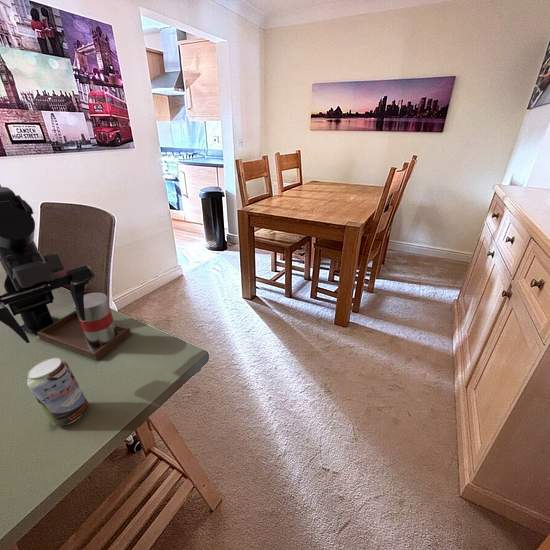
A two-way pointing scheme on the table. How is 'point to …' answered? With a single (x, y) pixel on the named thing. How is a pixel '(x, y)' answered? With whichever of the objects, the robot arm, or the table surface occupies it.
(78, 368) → the table surface
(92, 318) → the can
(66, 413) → the beverage can
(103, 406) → the table surface
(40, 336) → the drinks tray
